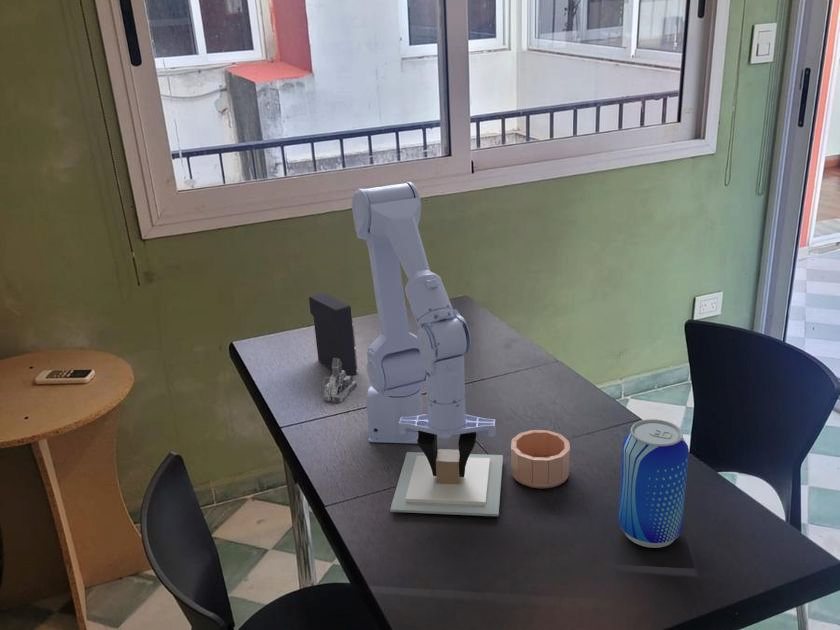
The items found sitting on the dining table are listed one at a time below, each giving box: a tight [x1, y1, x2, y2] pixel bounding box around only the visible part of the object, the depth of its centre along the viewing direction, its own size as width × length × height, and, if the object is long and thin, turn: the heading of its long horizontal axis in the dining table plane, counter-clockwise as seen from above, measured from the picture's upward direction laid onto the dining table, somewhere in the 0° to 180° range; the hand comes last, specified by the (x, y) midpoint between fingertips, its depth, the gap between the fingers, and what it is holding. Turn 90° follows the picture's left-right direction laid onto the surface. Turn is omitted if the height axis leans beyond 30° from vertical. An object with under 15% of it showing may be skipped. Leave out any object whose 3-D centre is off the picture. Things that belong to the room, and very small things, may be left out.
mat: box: [389, 451, 504, 517], centre depth 121 cm, size 16×16×1 cm
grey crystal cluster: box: [322, 358, 358, 403], centre depth 153 cm, size 9×9×8 cm
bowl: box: [510, 429, 571, 489], centre depth 122 cm, size 9×9×5 cm
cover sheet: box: [405, 448, 490, 505], centre depth 120 cm, size 12×12×5 cm
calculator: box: [308, 292, 358, 376], centre depth 161 cm, size 11×4×15 cm, turn 37°
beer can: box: [618, 418, 690, 549], centre depth 105 cm, size 8×8×16 cm
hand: (449, 473), depth 121 cm, fingers closed on cover sheet, 3 cm apart
